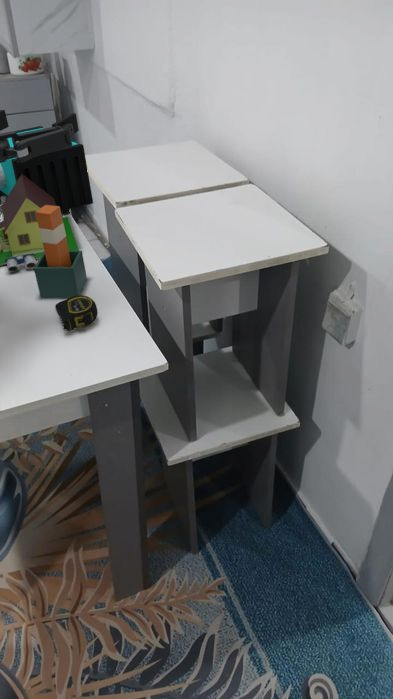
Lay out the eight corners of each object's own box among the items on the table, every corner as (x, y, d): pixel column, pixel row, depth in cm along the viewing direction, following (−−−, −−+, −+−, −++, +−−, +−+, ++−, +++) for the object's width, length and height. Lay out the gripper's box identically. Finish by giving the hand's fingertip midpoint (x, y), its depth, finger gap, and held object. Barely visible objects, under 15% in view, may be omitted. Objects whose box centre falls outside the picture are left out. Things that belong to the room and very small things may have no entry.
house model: (-7, 266, 114) (-24, 208, 107) (-9, 229, 130) (-24, 177, 122) (79, 251, 118) (69, 195, 111) (67, 217, 134) (57, 166, 126)
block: (52, 289, 106) (34, 212, 96) (62, 280, 108) (45, 204, 98) (66, 292, 105) (49, 214, 95) (75, 283, 107) (60, 206, 98)
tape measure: (57, 316, 99) (52, 299, 97) (93, 307, 101) (90, 290, 99) (64, 336, 94) (60, 319, 92) (103, 326, 96) (100, 309, 94)
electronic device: (-35, 203, 144) (-52, 144, 135) (52, 180, 155) (41, 125, 146) (-1, 232, 127) (-19, 168, 118) (94, 205, 138) (84, 144, 129)
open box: (40, 298, 104) (33, 268, 100) (50, 279, 110) (44, 250, 106) (79, 298, 104) (73, 268, 100) (87, 279, 109) (81, 250, 105)
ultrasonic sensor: (9, 275, 114) (6, 266, 111) (7, 266, 115) (4, 257, 111) (38, 269, 115) (35, 260, 112) (36, 260, 116) (33, 251, 113)
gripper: (-104, 182, 80) (-18, 139, 96) (43, 196, 73) (110, 147, 89) (-125, 130, 75) (-30, 93, 91) (31, 139, 69) (103, 98, 85)
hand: (39, 120), depth 90 cm, fingers open, 13 cm apart
